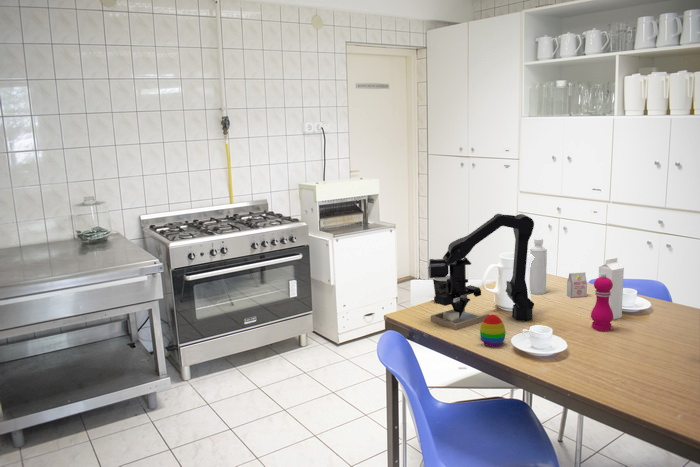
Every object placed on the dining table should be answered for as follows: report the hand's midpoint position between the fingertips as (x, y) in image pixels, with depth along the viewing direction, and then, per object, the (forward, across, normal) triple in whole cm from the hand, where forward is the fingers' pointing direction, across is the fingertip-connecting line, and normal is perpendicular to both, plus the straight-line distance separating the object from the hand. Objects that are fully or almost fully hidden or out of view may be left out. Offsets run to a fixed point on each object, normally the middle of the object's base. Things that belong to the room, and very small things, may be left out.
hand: (458, 317), depth 210 cm
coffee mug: (+3, -17, -24) cm, 30 cm away
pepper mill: (+3, -34, +35) cm, 49 cm away
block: (+1, +4, 0) cm, 4 cm away
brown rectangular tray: (+3, -1, 0) cm, 3 cm away
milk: (+3, -47, +30) cm, 56 cm away
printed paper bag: (+4, -61, +7) cm, 62 cm away
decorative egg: (+3, +5, +21) cm, 21 cm away
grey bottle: (+4, -54, -7) cm, 55 cm away
